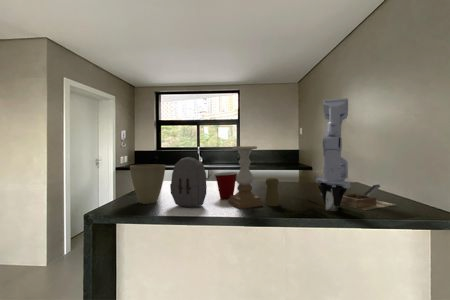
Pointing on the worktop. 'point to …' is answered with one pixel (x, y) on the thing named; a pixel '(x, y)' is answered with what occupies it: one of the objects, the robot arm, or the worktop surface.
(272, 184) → the cork
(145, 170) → the plant pot
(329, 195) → the steel peg
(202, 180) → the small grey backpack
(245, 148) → the candle holder
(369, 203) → the socket board
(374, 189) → the bar
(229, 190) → the plastic cup
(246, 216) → the worktop surface
